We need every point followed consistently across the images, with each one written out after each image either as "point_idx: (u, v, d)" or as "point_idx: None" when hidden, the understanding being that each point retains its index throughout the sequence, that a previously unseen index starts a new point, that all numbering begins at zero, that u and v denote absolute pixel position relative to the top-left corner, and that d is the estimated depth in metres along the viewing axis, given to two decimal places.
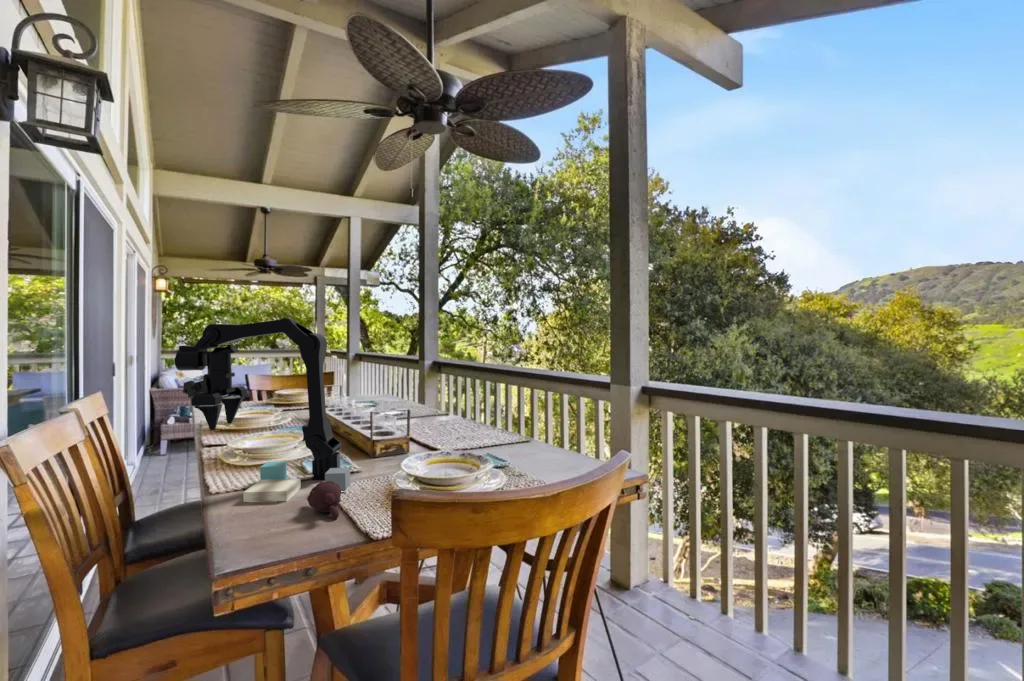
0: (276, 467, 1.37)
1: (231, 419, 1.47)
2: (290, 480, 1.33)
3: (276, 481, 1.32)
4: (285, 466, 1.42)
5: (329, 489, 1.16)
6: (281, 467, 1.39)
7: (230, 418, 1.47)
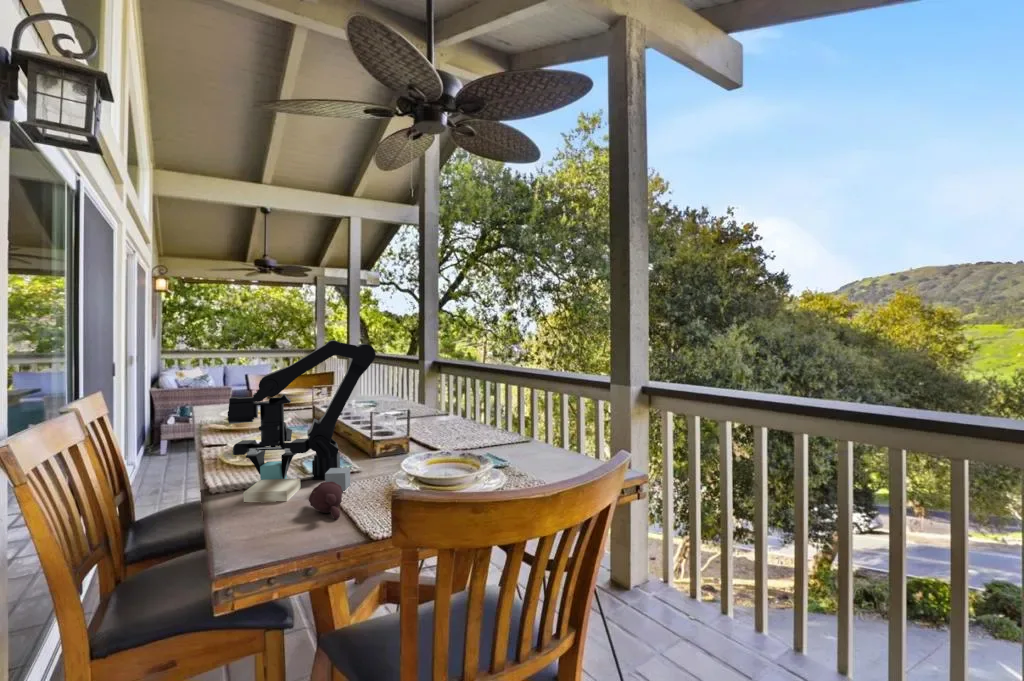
0: (276, 467, 1.37)
1: None
2: (290, 480, 1.33)
3: (276, 481, 1.32)
4: None
5: (330, 489, 1.16)
6: (281, 467, 1.39)
7: None
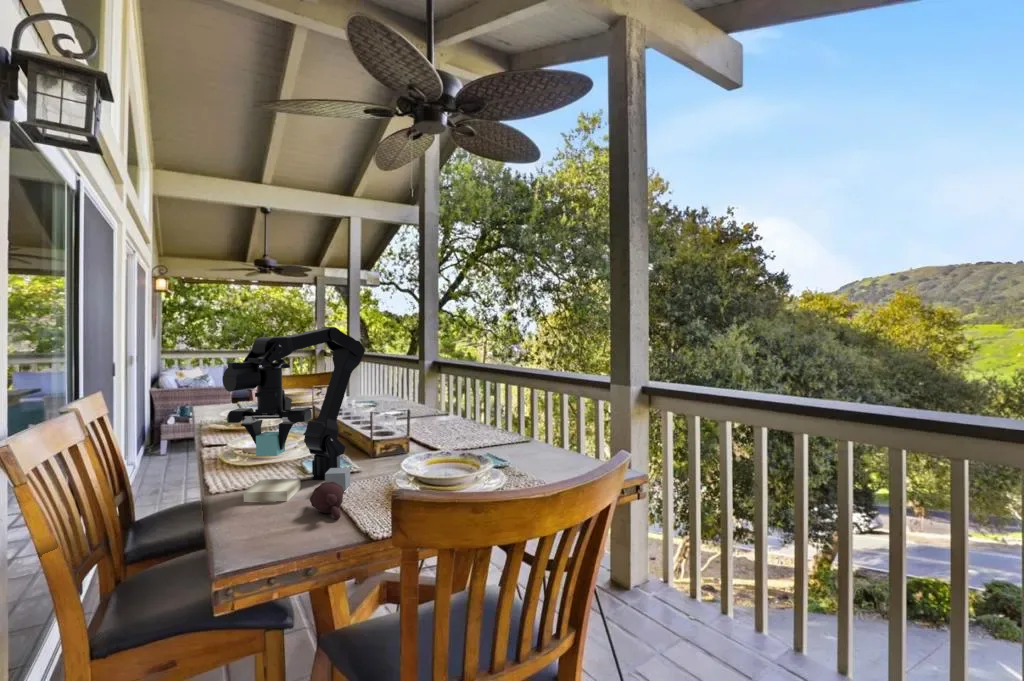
0: (273, 436, 1.28)
1: None
2: (290, 480, 1.33)
3: (275, 481, 1.32)
4: None
5: (331, 489, 1.15)
6: (278, 437, 1.29)
7: None
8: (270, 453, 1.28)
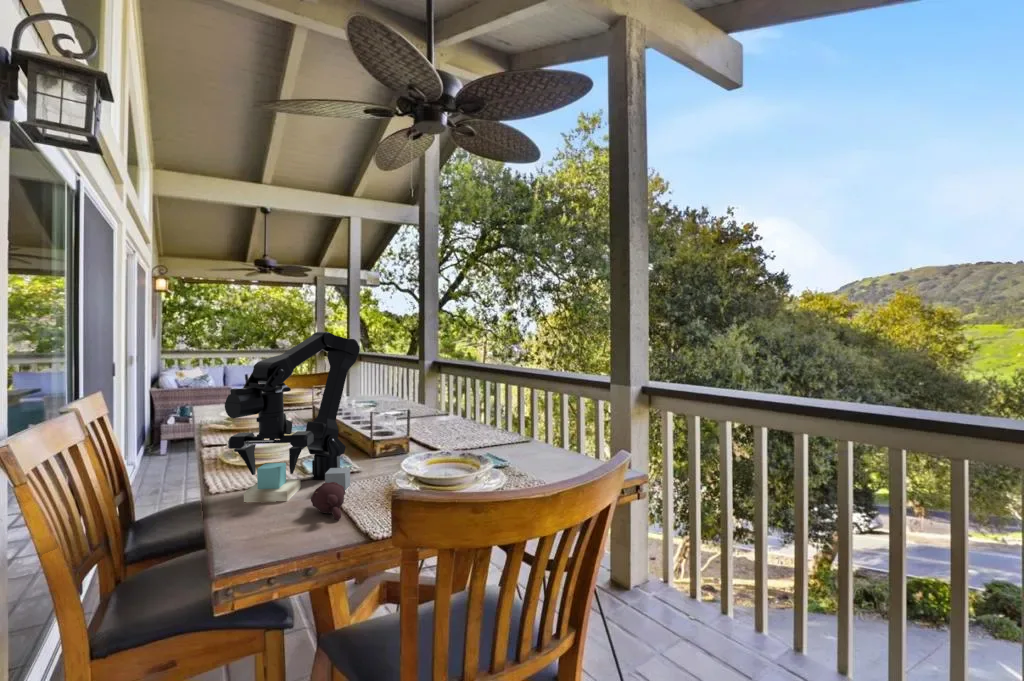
0: (274, 469, 1.26)
1: None
2: (290, 480, 1.33)
3: None
4: (284, 468, 1.31)
5: (332, 490, 1.15)
6: (280, 469, 1.28)
7: None
8: (271, 486, 1.27)
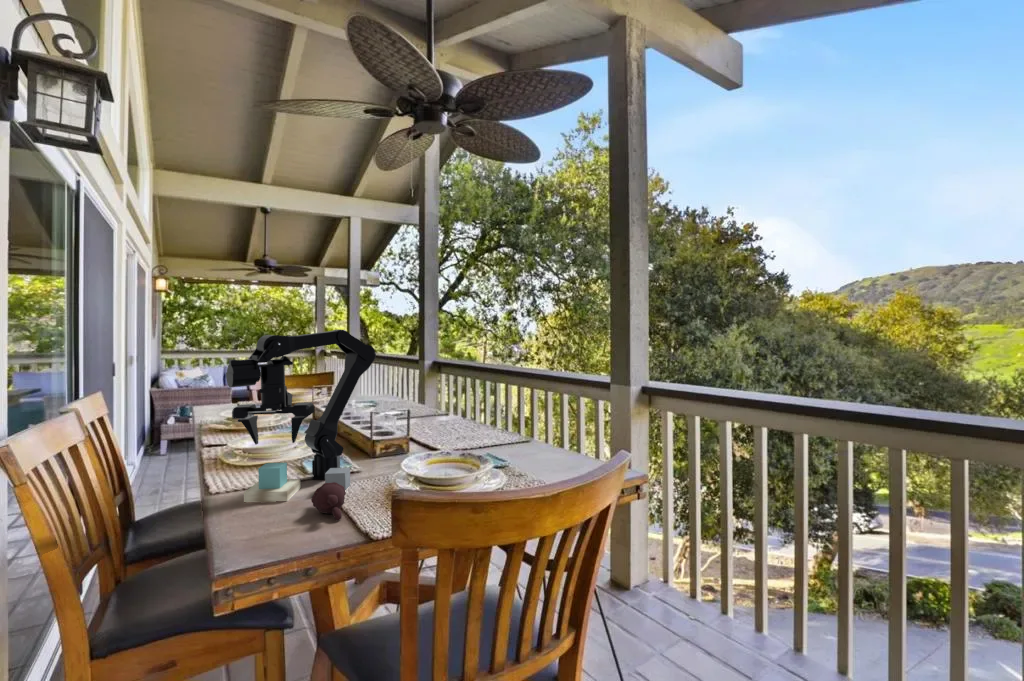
0: (276, 469, 1.27)
1: None
2: (290, 480, 1.33)
3: None
4: (285, 468, 1.31)
5: (332, 490, 1.15)
6: (281, 469, 1.28)
7: None
8: (273, 486, 1.27)
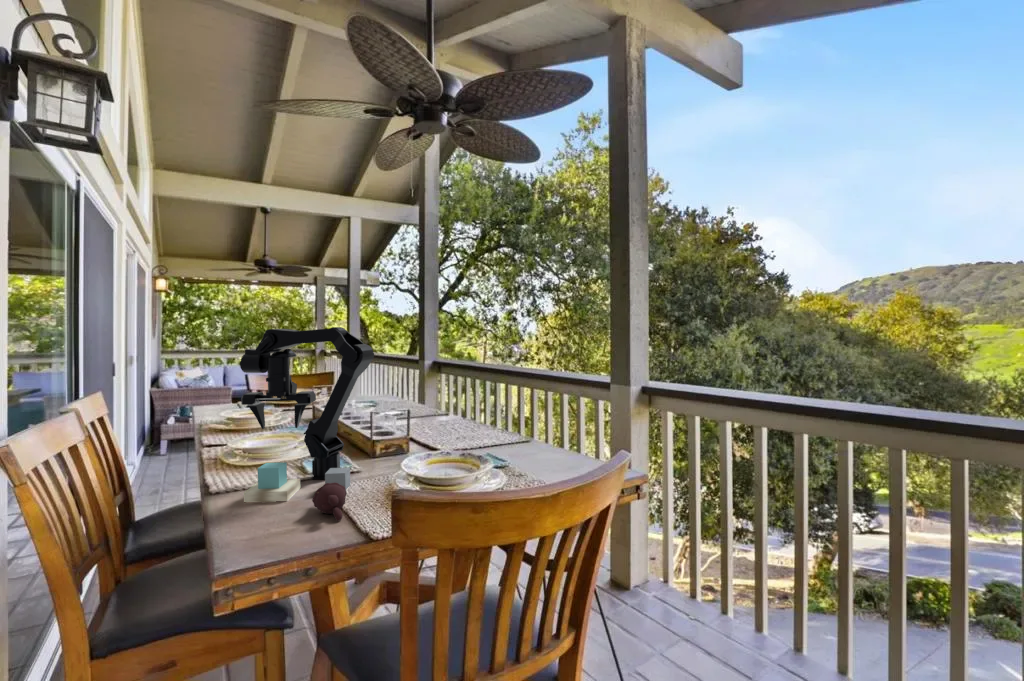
0: (275, 469, 1.27)
1: None
2: (290, 480, 1.33)
3: None
4: (285, 467, 1.31)
5: (333, 490, 1.15)
6: (280, 469, 1.28)
7: None
8: (272, 486, 1.27)
